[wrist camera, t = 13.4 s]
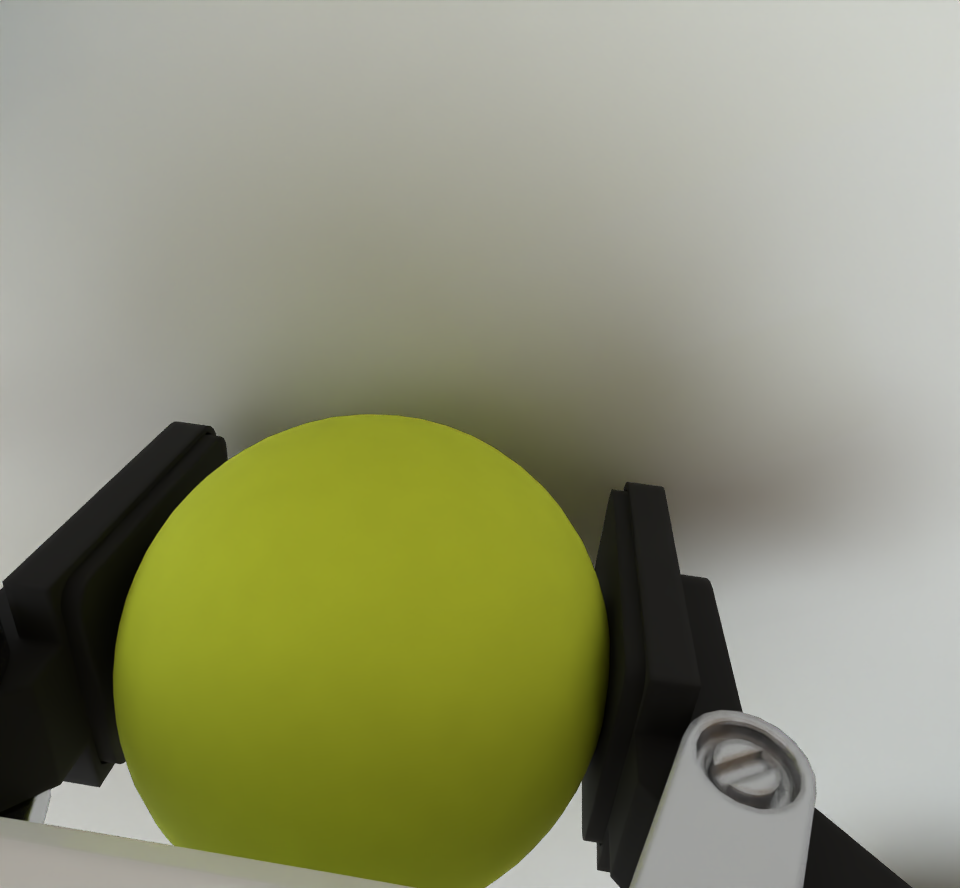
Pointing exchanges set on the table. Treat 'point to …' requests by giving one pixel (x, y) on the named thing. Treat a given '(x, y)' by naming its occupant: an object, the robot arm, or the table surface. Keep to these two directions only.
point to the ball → (364, 657)
